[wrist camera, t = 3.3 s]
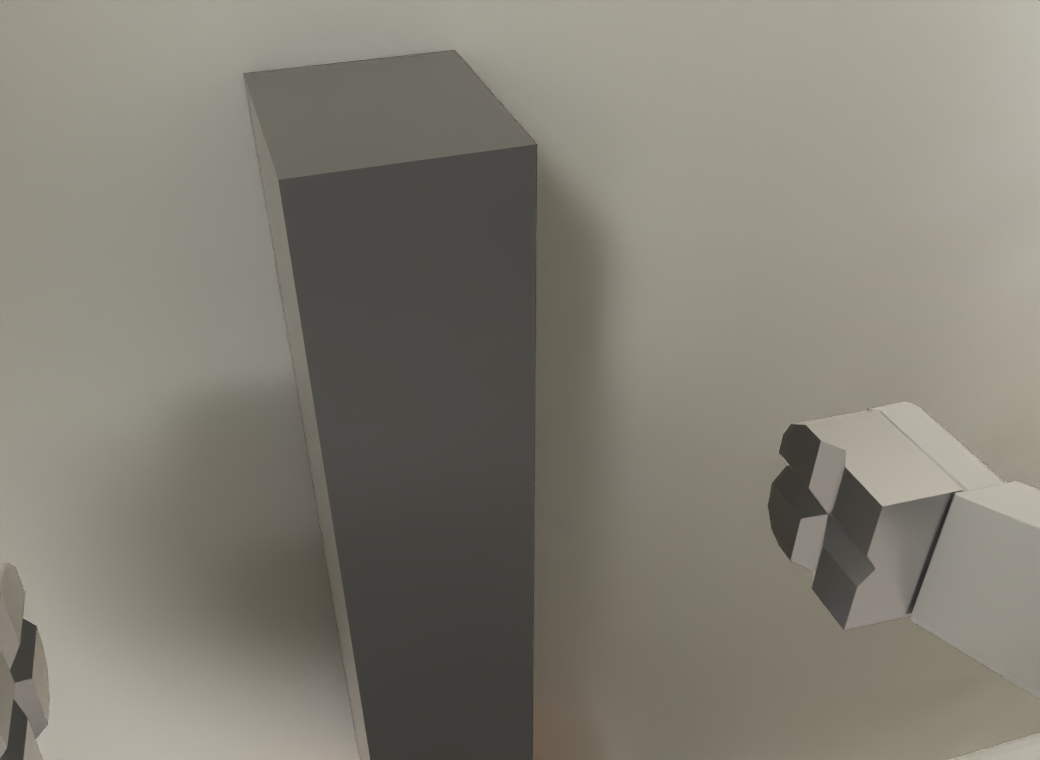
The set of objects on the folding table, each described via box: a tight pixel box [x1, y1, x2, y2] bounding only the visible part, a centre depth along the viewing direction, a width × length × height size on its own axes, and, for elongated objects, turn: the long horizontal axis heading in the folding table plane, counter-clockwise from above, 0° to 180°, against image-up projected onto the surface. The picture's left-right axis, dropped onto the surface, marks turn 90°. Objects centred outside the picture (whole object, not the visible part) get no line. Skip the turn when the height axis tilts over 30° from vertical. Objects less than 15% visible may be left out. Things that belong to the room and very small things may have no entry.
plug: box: [244, 50, 537, 760], centre depth 15 cm, size 18×4×4 cm, turn 0°
